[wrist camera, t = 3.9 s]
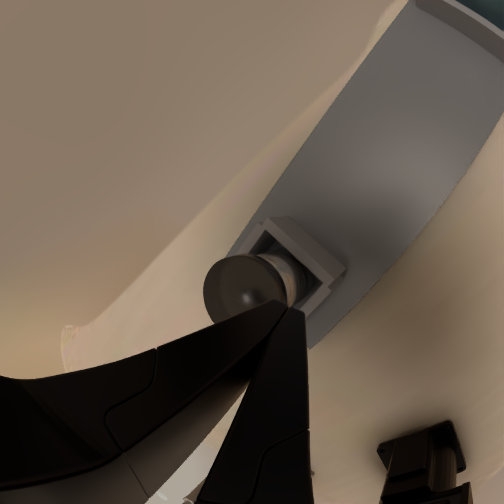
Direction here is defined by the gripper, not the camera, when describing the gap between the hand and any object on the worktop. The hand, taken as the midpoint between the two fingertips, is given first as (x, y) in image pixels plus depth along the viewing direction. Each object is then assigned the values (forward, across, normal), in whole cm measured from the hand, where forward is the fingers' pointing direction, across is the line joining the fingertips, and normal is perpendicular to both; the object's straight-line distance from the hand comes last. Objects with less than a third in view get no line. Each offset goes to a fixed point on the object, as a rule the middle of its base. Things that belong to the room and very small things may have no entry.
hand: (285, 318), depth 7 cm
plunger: (+10, +2, +6) cm, 12 cm away
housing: (+14, -2, -5) cm, 15 cm away
